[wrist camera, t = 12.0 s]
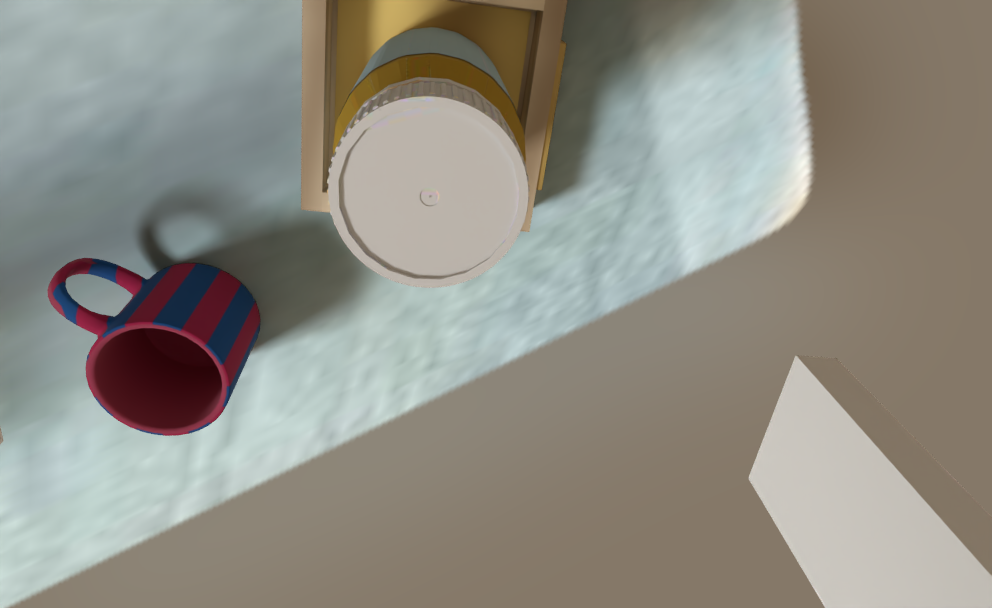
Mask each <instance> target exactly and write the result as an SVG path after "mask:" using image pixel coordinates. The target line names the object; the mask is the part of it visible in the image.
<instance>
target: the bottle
mask: <svg viewBox="0 0 992 608" xmlns="http://www.w3.org/2000/svg"><path fill="white" fill-rule="evenodd" d="M331 161H332V163H331V165H330V167H329V173H330V175H329V177H328V179H327V183H328V184H329V185H328V189H327V194H328V195H329V200H328V204H329V205H330V210H331V211H330V213H331V215H332V217H333V220H334V224H335V226H336V228H337V230H338V233H339V234H340V236H341V238H342V239H343V241H344V243H345V244H346V245H347V247H348V248H349V249H350V251H351V252H352V253H353V254H354V255H355V256H356V257H357V258H358V259H359V260H360V261H361V262H362V263H363V264H365V265H366V266H367V267H369V268H370V269H371V270H373V271H374V272H376V273H378V274H379V275H381V276H383V277H385V278H388V279H390V280H392V281H395V282H398V283H401V284H405V285H409V286H415V287H426V288H435V287H445V286H451V285H455V284H459V283H462V282H465V281H468V280H470V279H473V278H475V277H477V276H479V275H480V274H482V273H484V272H485V271H487V270H488V269H490V268H491V267H492V266H494V265H495V264H496V263H497V262H498V261H499V260H501V258H502V257H503V256H504V255H505V254H506V253H507V252H508V251H509V249H510V248H511V247H512V245H513V244H514V242H515V240H516V239H517V237H518V235H519V233H520V231H521V229H522V226H523V223H524V221H525V216H526V213H527V211H528V207H527V206H528V202H529V196H528V192H529V191H530V187H529V185H528V181H529V177H528V174H527V172H526V171H527V167H526V164H525V163H526V151H525V136H524V132H523V128H522V124H521V121H520V119H519V116H518V114H517V111H516V109H515V106H514V104H513V102H512V100H511V98H510V96H509V94H508V92H507V90H506V87H505V85H504V83H503V81H502V79H501V77H500V75H499V73H498V71H497V69H496V67H495V66H494V64H493V62H492V61H491V60H490V58H489V57H488V56H487V55H486V54H485V52H484V51H483V50H482V49H481V48H480V47H479V46H478V45H477V44H476V43H474V42H473V41H471V40H470V39H468V38H466V37H465V36H463V35H462V34H460V33H458V32H455V31H452V30H448V29H444V28H439V27H422V28H413V29H410V30H407V31H405V32H403V33H400V34H398V35H396V36H394V37H392V38H391V39H389V40H388V41H387V42H386V43H385V44H384V45H383V46H381V47H380V48H379V49H378V50H377V51H376V52H375V53H374V54H373V56H372V57H371V59H370V60H369V62H368V64H367V65H366V67H365V69H364V70H363V72H362V74H361V75H360V77H359V79H358V81H357V82H356V84H355V86H354V87H353V89H352V91H351V92H350V94H349V96H348V98H347V100H346V102H345V104H344V106H343V108H342V110H341V112H340V114H339V117H338V120H337V124H336V128H335V136H334V144H333V157H332V159H331Z"/></svg>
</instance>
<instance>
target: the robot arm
mask: <svg viewBox="0 0 992 608" xmlns="http://www.w3.org/2000/svg"><path fill="white" fill-rule="evenodd" d="M2 442H3V436H2V432H1V428H0V444H1V443H2ZM749 480H750V482H751V483H752V485H753V486H754V488H755V490H756V492H757V493H758V495H759V497H760V498H761V500H762V502H763V503H764V505H765V507H766V509H767V510H768V512H769V514H770V515H771V517H772V518H773V520H774V522H775V524H776V525H777V527H778V529H779V531H780V532H781V534H782V536H783V537H784V539H785V541H786V542H787V544H788V546H789V547H790V549H791V551H792V553H793V554H794V556H795V558H796V559H797V561H798V563H799V564H800V566H801V567H802V569H803V571H804V573H805V574H806V576H807V578H808V580H809V581H810V583H811V585H812V586H813V588H814V590H815V591H816V593H817V595H818V596H819V598H820V599H821V601H822V603H823V605H824V607H825V608H992V517H991V516H990V515H989V514H988V512H987V511H986V510H985V509H984V508H983V507H982V506H981V505H980V504H979V503H978V502H977V501H976V500H975V499H974V498H973V497H972V496H971V495H970V494H969V493H968V492H967V491H966V490H965V489H964V488H963V487H962V486H961V485H960V484H959V483H958V482H957V481H956V480H955V479H954V478H953V477H952V476H951V475H950V474H949V473H948V472H947V471H946V470H945V469H944V468H943V466H942V465H940V463H939V462H938V461H937V460H936V459H934V457H933V456H932V455H931V454H930V453H929V452H928V451H927V450H926V449H925V448H924V447H923V446H922V445H921V444H920V443H919V442H918V441H917V440H916V439H915V438H914V437H913V436H912V435H911V434H910V433H909V432H908V431H907V430H906V429H905V428H904V427H903V426H902V425H901V424H900V423H899V422H898V420H897V419H896V418H895V417H894V416H893V415H891V413H890V412H889V411H888V410H887V409H886V408H885V407H884V406H883V405H882V404H881V403H880V402H879V401H878V400H877V399H876V398H875V397H874V396H873V395H872V394H871V393H870V392H869V391H868V390H867V389H866V388H865V387H864V386H863V385H862V384H861V383H860V382H859V381H858V380H857V379H856V378H855V377H854V376H853V375H852V374H851V372H850V371H848V369H847V368H846V367H844V365H843V364H842V363H841V362H840V361H839V360H838V359H837V358H825V357H812V356H798V355H796V356H795V359H794V362H793V364H792V367H791V369H790V372H789V374H788V377H787V380H786V382H785V385H784V387H783V390H782V393H781V395H780V398H779V400H778V403H777V406H776V408H775V411H774V413H773V416H772V418H771V421H770V424H769V426H768V429H767V431H766V434H765V437H764V439H763V442H762V444H761V447H760V450H759V452H758V455H757V458H756V460H755V462H754V465H753V468H752V470H751V473H750V475H749Z"/></svg>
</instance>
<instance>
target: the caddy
mask: <svg viewBox="0 0 992 608" xmlns="http://www.w3.org/2000/svg"><path fill="white" fill-rule="evenodd" d="M567 1H568V0H302V159H301V210H310V211H320V212H330V211H331V210H330V205H329V204H328V200H329V195H328V194H327V189H328V185H329V184H328V183H327V179H328V177H329V175H330V173H329V167H330V165H331V163H332V161H331V159H332V157H333V144H334V136H335V128H336V124H337V120H338V117H339V114H340V112H341V110H342V108H343V106H344V104H345V102H346V100H347V98H348V96H349V94H350V92H351V91H352V89H353V87H354V86H355V84H356V82H357V81H358V79H359V77H360V75H361V74H362V72H363V70H364V69H365V67H366V65H367V64H368V62H369V60H370V59H371V57H372V56H373V54H374V53H375V52H376V51H377V50H378V49H379V48H380V47H381V46H383V45H384V44H385V43H386V42H387V41H388V40H389V39H391V38H392V37H394V36H396V35H398V34H400V33H403V32H405V31H407V30H410V29H413V28H422V27H439V28H444V29H448V30H452V31H455V32H458V33H460V34H462V35H463V36H465V37H466V38H468V39H470V40H471V41H473V42H474V43H476V44H477V45H478V46H479V47H480V48H481V49H482V50H483V51H484V52H485V54H486V55H487V56H488V57H489V58H490V60H491V61H492V62H493V64H494V66H495V67H496V69H497V71H498V73H499V75H500V77H501V79H502V81H503V83H504V85H505V87H506V90H507V92H508V94H509V96H510V98H511V100H512V102H513V104H514V106H515V109H516V111H517V114H518V116H519V119H520V121H521V124H522V128H523V132H524V136H525V151H526V163H525V164H526V167H527V171H526V172H527V174H528V177H529V181H528V185H529V187H530V191H529V192H528V196H529V202H528V206H527V207H528V211H527V213H526V216H525V221H524V223H523V226H522V229H521V231H525V232H529V230H530V224H531V218H532V212H533V206H534V200H535V194H536V190H542V185H543V179H544V174H545V168H546V162H547V156H548V150H549V144H550V138H551V132H552V126H553V120H554V115H555V109H556V103H557V97H558V91H559V85H560V79H561V73H562V67H563V62H564V56H565V50H566V43H565V42H563V41H562V40H561V37H562V31H563V25H564V19H565V13H566V7H567Z"/></svg>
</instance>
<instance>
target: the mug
mask: <svg viewBox="0 0 992 608" xmlns="http://www.w3.org/2000/svg"><path fill="white" fill-rule="evenodd" d="M76 274H91V275H96V276H99V277H102V278H105V279H108V280H110V281H113V282H115V283H117V284H119V285H120V286H122V287H124V288H125V289H127V290H128V291H129V292H130V293H132V294H133V297H132V299H131V300H130V301H129V303H128V304H127V305H126V306H125V307H124V308H123V310H122V311H121V312H120V313H119V314H118V315H117V316H115V317H113V316H107V315H101V314H98V313H95V312H92V311H89V310H88V309H86V308H84V307H82V306H81V305H79V304H78V303H77V302H76V301H74V300H73V299H72V298H71V296H70V295H69V294H68V292H67V289H66V287H65V285H66V279H67V278H68V277H70V276H72V275H76ZM48 298H49V300H50V302H51V304H52V306H53V307H54V308H55V309H56V310H57V311H58V312H59V313H60V314H61V315H63V316H64V317H65V318H66V319H68V320H69V321H71V322H73V323H74V324H76V325H78V326H80V327H82V328H84V329H86V330H88V331H90V332H92V333H94V334H97V335H98V339H97V341H96V342H95V343H94V345H93V346H92V347H91V350H90V352H89V354H88V356H87V362H86V377H87V381H88V385H89V388H90V390H91V392H92V394H93V396H94V397H95V398H96V400H97V401H98V403H99V404H100V405H101V406H102V407H103V408H104V409H105V410H106V411H107V412H108V413H109V414H110V415H112V416H113V417H114V418H116V419H117V420H118V421H120V422H122V423H124V424H126V425H127V426H129V427H132V428H134V429H137V430H139V431H142V432H146V433H151V434H156V435H165V436H169V435H183V434H189V433H192V432H195V431H198V430H200V429H202V428H204V427H206V426H208V425H210V424H211V423H212V422H214V421H215V420H216V419H217V418H218V417H219V416H220V415H221V413H222V412H223V410H224V409H225V407H226V405H227V403H228V401H229V399H230V396H231V394H232V392H233V390H234V388H235V385H236V383H237V381H238V379H239V377H240V374H241V372H242V370H243V368H244V366H245V363H246V361H247V359H248V357H249V355H250V352H251V350H252V348H253V346H254V344H255V341H256V339H257V337H258V333H259V330H260V315H259V310H258V307H257V304H256V302H255V300H254V298H253V297H252V295H251V294H250V292H249V291H248V290H247V289H246V287H245V286H244V285H243V284H242V283H240V282H239V281H238V280H237V279H236V278H234V277H233V276H231V275H230V274H228V273H226V272H224V271H222V270H220V269H218V268H215V267H212V266H208V265H203V264H197V263H184V264H178V265H173V266H170V267H167V268H164V269H163V270H161V271H159V272H157V273H156V274H155V275H153V276H152V277H151V278H150V279H148V280H146V279H145V278H143V277H141V276H140V275H138V274H136V273H134V272H131V271H129V270H127V269H125V268H123V267H121V266H118V265H116V264H113V263H110V262H107V261H104V260H99V259H92V258H82V259H77V260H74V261H72V262H69V263H68V264H66V265H65V266H64V267H62V268H61V269H60V270H59V271H57V272H56V274H55V275H54V277H53V278H52V280H51V282H50V284H49V287H48Z"/></svg>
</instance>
